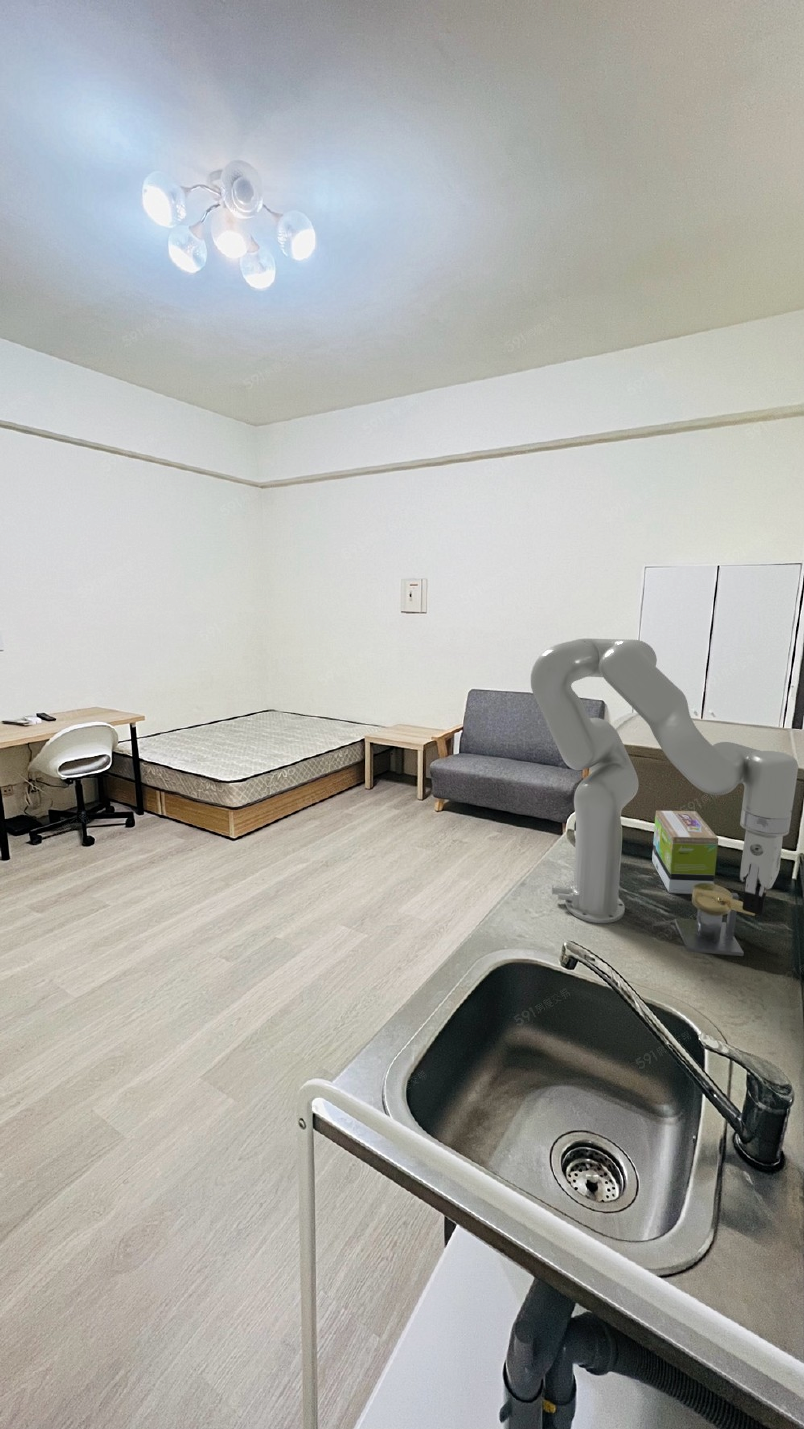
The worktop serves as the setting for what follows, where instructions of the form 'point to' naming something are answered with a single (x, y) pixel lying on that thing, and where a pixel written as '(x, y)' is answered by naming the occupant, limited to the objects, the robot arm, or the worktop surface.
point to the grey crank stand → (710, 933)
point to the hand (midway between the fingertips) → (752, 910)
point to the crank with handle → (715, 900)
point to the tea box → (683, 850)
